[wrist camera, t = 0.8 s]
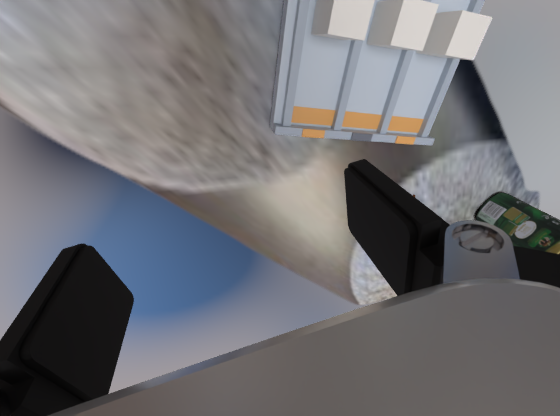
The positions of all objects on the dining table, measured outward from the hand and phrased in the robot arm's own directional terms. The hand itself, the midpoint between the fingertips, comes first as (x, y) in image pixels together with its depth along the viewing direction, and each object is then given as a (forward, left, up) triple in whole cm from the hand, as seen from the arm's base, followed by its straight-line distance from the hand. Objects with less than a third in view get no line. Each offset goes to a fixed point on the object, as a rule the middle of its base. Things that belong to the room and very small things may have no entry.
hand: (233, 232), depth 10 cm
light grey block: (-10, +12, -26) cm, 30 cm away
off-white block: (-10, +19, -26) cm, 34 cm away
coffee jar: (+17, +57, -28) cm, 66 cm away
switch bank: (-6, +19, -28) cm, 34 cm away
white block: (-10, +26, -26) cm, 38 cm away
